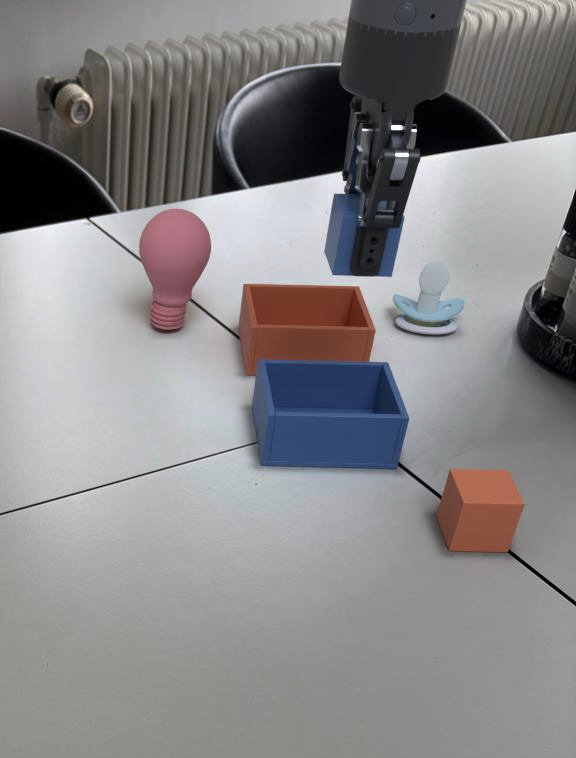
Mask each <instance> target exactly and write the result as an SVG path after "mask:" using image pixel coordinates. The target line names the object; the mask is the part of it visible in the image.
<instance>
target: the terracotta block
mask: <svg viewBox="0 0 576 758" xmlns="http://www.w3.org/2000/svg"><path fill="white" fill-rule="evenodd" d="M525 505H526V503H525V501H524V499H523V497H522V495H521V493H520V491H519V489H518V486H517V485H516V483H515V480H514V479H513V477H512V474H511V473H510V470H509V469H471V468H469V469H468V468H450V469H449V471H448V474H447V478H446V481H445V484H444V489H443V492H442V495H441V498H440V503H439V506H438V509H437V512H436V516H435V517H436V520H437V523H438V526H439V527H440V531H441V533H442V536H443V539H444V541H445V544H446V546H447V550H448V551H449V552H472V553H473V552H475V553H478V552H479V553H480V552H481V553H508V552H509V551H510V547H511V544H512V542H513V539H514V535H515V533H516V530H517V527H518V525H519V522H520V519H521V516H522V513H523V510H524V508H525Z"/></svg>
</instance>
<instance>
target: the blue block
mask: <svg viewBox="0 0 576 758" xmlns="http://www.w3.org/2000/svg"><path fill="white" fill-rule="evenodd" d="M360 199H361V194H345V193H333V197H332V203H331V207H330V208H331V209H330V215H329V221H328V227H327V233H326V239H325V244H324V252H323V253H324V255H325V258H326V261H327V264H328V266H329V269H330V272H331V275H332V276H339V277H340V276H342V277H343V276H344V277H345V276H346V277H347V276H348V277H355V276H354V275H352V273H351V270H350V263H351V258H352V252H353V247H354V242H355V236H356V231H357V226H358V222H357V217H358V215H359V207H360ZM386 202H387V201H381V202H380V203H379V204H378V208H377V210H386ZM405 218H406V217H405V215H404V214H403V217H402V222H401V224H400V227H399V228H398V229H393V228H389V230H388V235H387V239H386V244H385V249H384V254H383V259H382V263H381V268H380V272H379V274H378V275H376V276H375V277H381V278H392V277H393V273H394V268H395V264H396V260H397V254H398V250H399V247H400V246H399V245H400V241H401V236H402V231H403V228H404V223H405Z"/></svg>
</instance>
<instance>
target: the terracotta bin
mask: <svg viewBox="0 0 576 758" xmlns="http://www.w3.org/2000/svg"><path fill="white" fill-rule="evenodd" d="M237 330H238V336H239V340H240V342H239V343H240V348H241V354H242V360H243V366H244V371H245V375H246V376H256V371H257V363H258V359H264V360H265V359H269V360H312V361H356V362H370V360H371V355H372V350H373V345H374V340H375V336H376V331H377V329H376V327H375V324H374V322H373V319H372V317H371V314H370V311H369V309H368V306H367V304H366V301H365V299H364V295H363V293H362V290H361V287H360V285H359V286H358V285H357V286H356V285H322V284H321V285H319V284H317V285H315V284H278V283H277V284H276V283H272V284H271V283H243V286H242V293H241V302H240V312H239V320H238V329H237Z"/></svg>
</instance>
